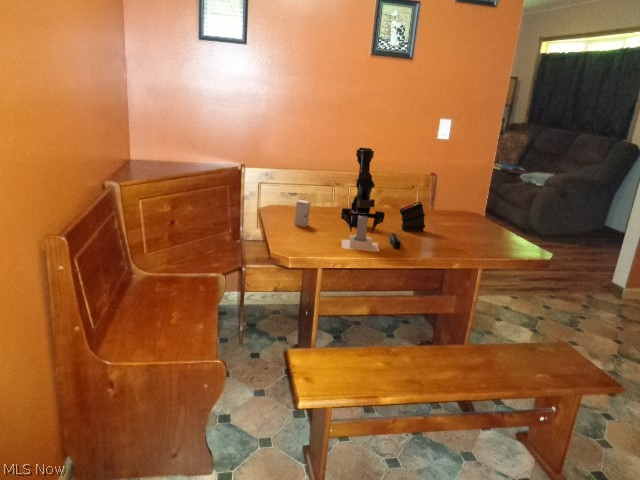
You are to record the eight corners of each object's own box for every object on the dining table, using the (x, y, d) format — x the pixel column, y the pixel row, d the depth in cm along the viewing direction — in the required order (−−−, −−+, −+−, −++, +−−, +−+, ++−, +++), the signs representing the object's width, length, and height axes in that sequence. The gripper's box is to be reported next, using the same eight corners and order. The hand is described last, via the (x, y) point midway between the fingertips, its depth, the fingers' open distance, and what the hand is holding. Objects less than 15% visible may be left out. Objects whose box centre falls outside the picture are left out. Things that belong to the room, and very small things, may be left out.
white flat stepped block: (341, 250, 198) (342, 241, 197) (341, 241, 210) (342, 233, 208) (378, 253, 198) (379, 245, 197) (376, 244, 209) (377, 236, 208)
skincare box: (294, 225, 228) (295, 201, 224) (297, 223, 232) (298, 199, 228) (305, 227, 226) (307, 203, 222) (308, 224, 230) (310, 201, 226)
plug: (355, 246, 202) (358, 217, 197) (355, 243, 205) (358, 215, 201) (364, 247, 201) (368, 218, 197) (364, 244, 205) (367, 216, 201)
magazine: (430, 229, 234) (422, 202, 229) (405, 238, 235) (397, 212, 230) (428, 227, 238) (419, 201, 233) (404, 236, 238) (395, 210, 233)
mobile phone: (402, 241, 201) (394, 230, 215) (395, 241, 201) (388, 230, 215) (400, 252, 203) (393, 240, 217) (393, 252, 203) (386, 240, 217)
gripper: (343, 189, 200) (341, 221, 193) (386, 193, 200) (385, 225, 193) (342, 203, 210) (339, 233, 203) (383, 207, 210) (382, 237, 203)
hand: (361, 232), depth 200 cm, fingers open, 9 cm apart
